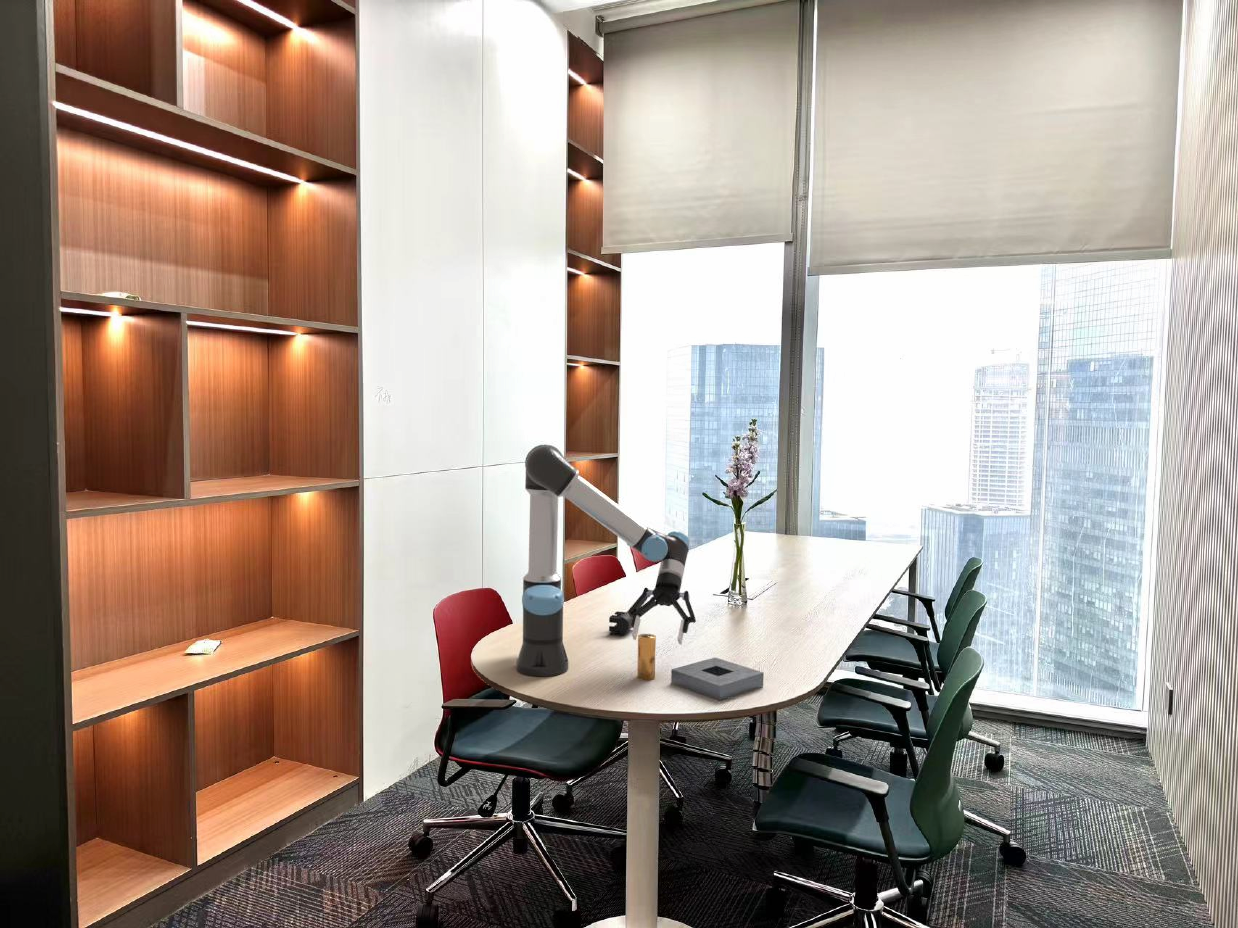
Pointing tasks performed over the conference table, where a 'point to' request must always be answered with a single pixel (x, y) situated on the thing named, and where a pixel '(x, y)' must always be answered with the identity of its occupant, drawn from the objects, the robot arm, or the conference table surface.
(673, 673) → the jig
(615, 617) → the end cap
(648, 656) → the bushing
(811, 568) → the conference table surface
